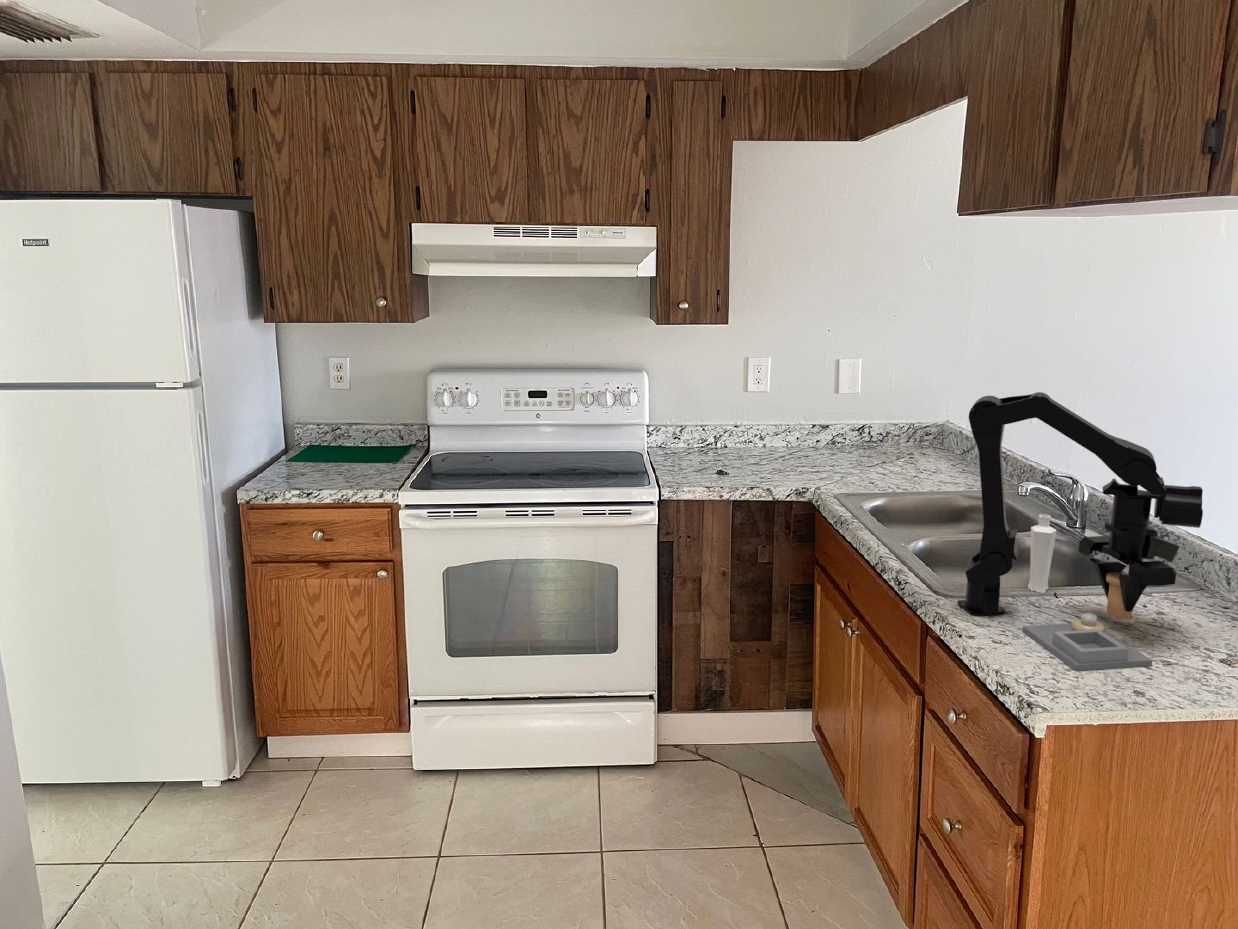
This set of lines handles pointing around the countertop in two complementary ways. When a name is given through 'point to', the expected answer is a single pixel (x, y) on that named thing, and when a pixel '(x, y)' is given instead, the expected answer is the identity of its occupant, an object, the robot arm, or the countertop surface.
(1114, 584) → the tan flared peg
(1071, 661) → the housing
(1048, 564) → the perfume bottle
